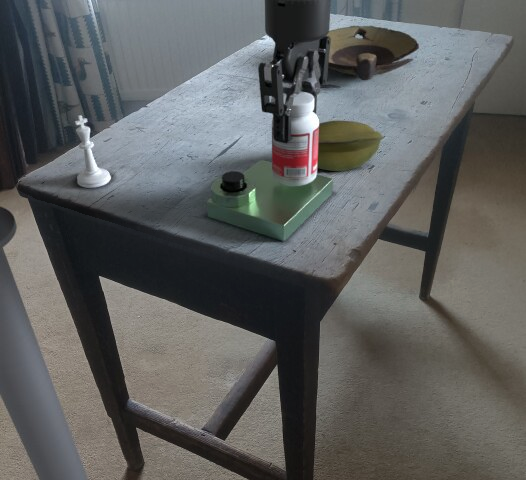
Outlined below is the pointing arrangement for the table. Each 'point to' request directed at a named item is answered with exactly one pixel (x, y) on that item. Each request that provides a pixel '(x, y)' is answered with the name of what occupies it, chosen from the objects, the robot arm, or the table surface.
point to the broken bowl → (369, 50)
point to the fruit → (345, 145)
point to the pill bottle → (298, 145)
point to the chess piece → (89, 160)
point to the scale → (268, 202)
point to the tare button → (233, 181)
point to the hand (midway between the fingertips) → (295, 131)
